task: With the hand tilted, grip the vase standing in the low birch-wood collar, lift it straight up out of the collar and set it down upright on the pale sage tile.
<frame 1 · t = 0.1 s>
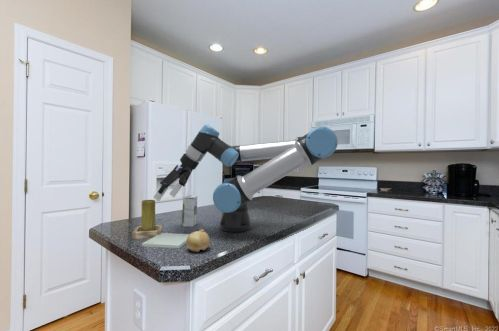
hand: (164, 197, 102), 15 cm above the countertop, tool tilted 35°, fingers open, 13 cm apart
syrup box: (189, 225, 116), on the countertop
tile: (169, 241, 91), on the countertop
vase: (148, 235, 99), resting in collar
collar: (148, 234, 99), on the countertop
onion: (198, 250, 82), on the countertop
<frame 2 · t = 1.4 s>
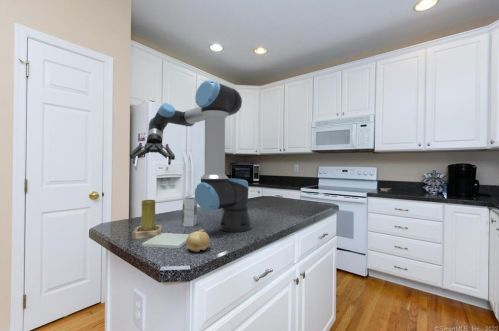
hand: (151, 168, 109), 28 cm above the countertop, tool tilted 45°, fingers open, 13 cm apart
nothing on the countertop moved.
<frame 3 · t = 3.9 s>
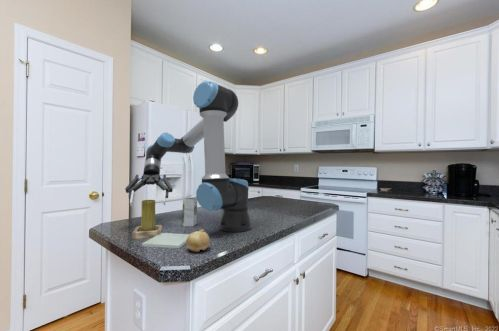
hand: (148, 203, 105), 12 cm above the countertop, tool tilted 45°, fingers open, 13 cm apart
nothing on the countertop moved.
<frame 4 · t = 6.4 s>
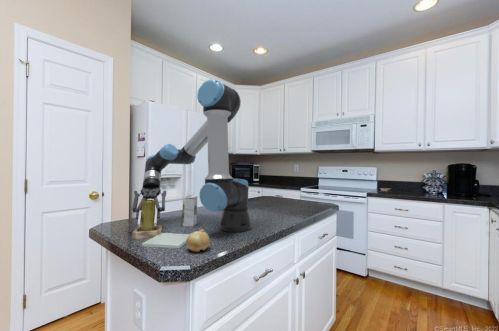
hand: (147, 225, 96), 5 cm above the countertop, tool tilted 45°, fingers closed on vase, 5 cm apart
vase: (148, 235, 99), resting in collar, touching gripper
everything else where it was.
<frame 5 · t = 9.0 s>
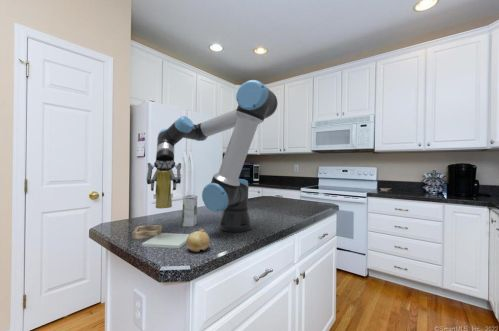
hand: (163, 196, 89), 18 cm above the countertop, tool tilted 45°, fingers closed on vase, 5 cm apart
vase: (163, 207, 93), point 12 cm above the countertop, touching gripper
everything else where it was.
when the fingers open (7 cm above the countertop, at t = 11.9 s): vase drops 1 cm, resting on tile.
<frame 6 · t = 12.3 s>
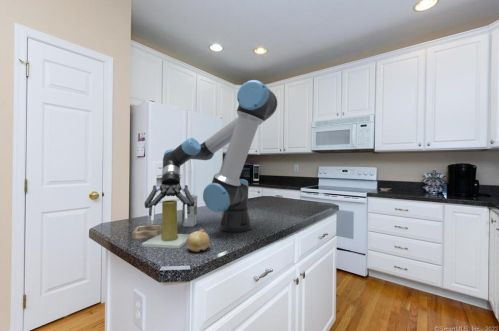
hand: (169, 221, 88), 8 cm above the countertop, tool tilted 45°, fingers open, 11 cm apart
vase: (169, 238, 91), point 1 cm above the countertop, touching tile
everything else where it was.
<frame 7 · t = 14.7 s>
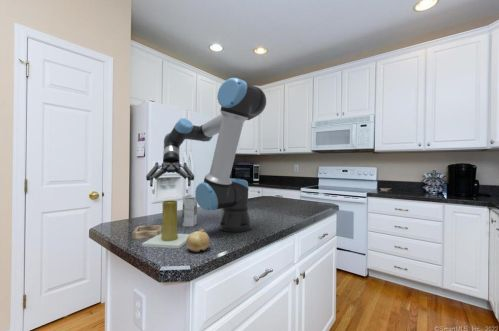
hand: (170, 191, 100), 18 cm above the countertop, tool tilted 45°, fingers open, 13 cm apart
nothing on the countertop moved.
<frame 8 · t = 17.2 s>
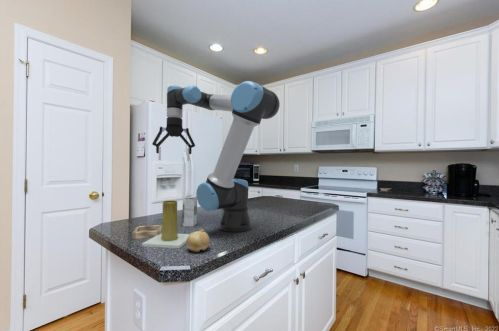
hand: (174, 160, 118), 32 cm above the countertop, tool pointing down, fingers open, 13 cm apart
nothing on the countertop moved.
at the end: vase inside the target area on the tile (0.0 cm from its centre), point 0.8 cm above the tile's base; vase tilted 0°; the gripper is holding nothing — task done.
